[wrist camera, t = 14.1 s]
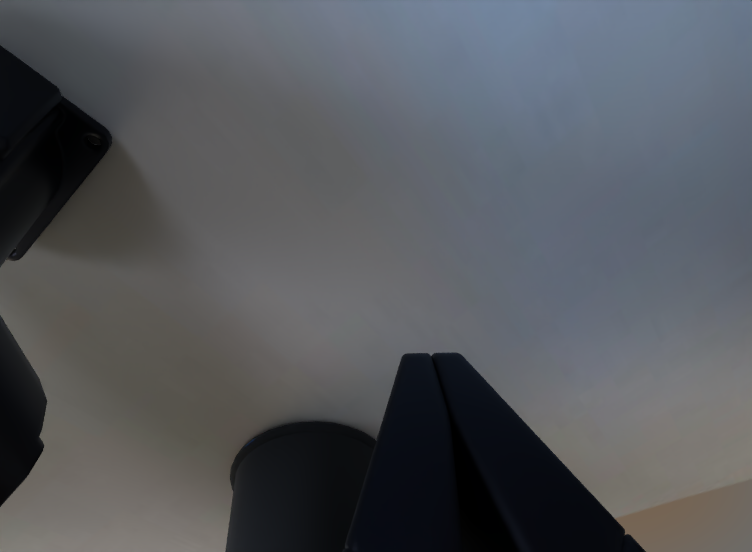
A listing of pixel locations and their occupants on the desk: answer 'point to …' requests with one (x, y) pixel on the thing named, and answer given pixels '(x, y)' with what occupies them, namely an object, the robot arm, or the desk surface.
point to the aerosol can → (297, 488)
